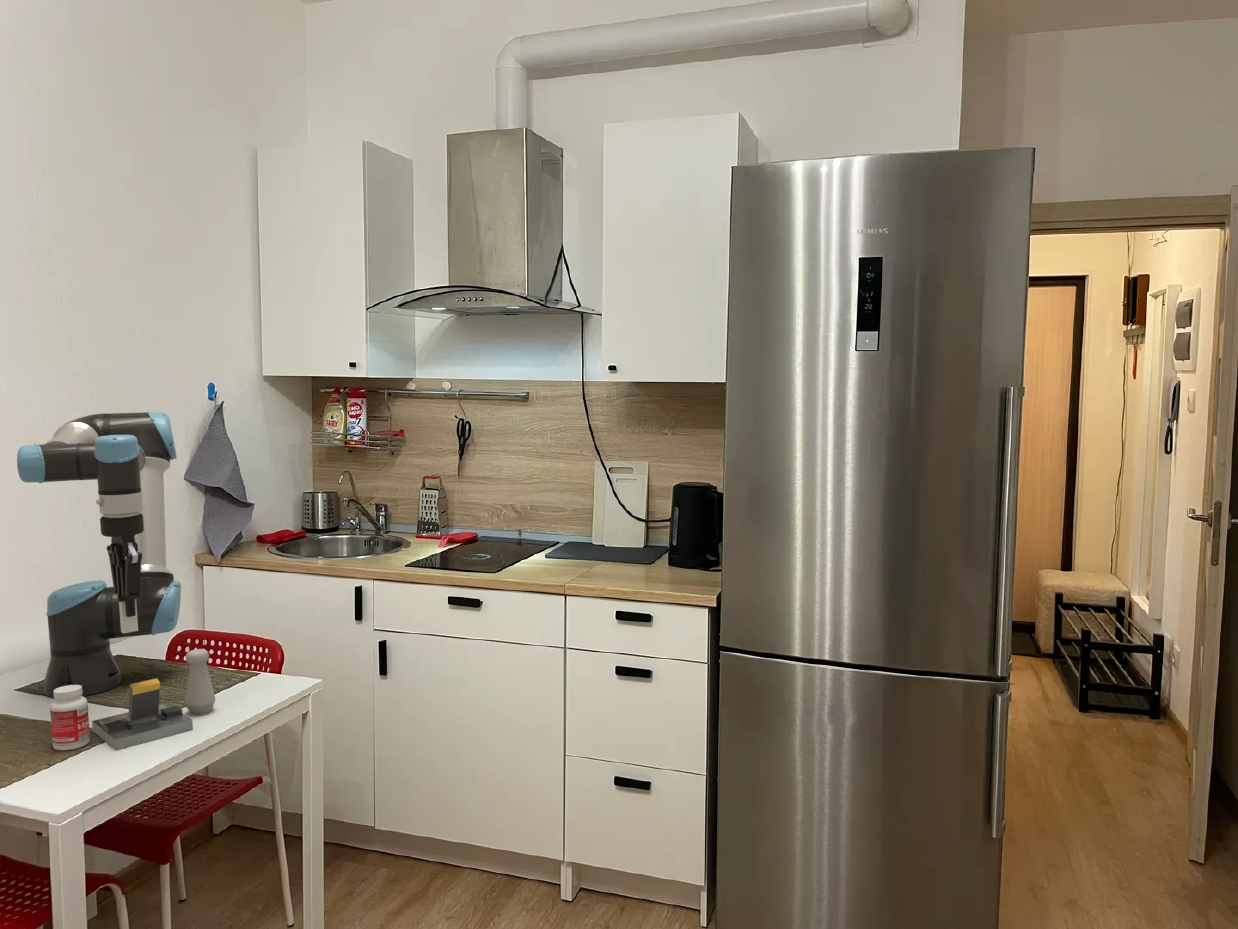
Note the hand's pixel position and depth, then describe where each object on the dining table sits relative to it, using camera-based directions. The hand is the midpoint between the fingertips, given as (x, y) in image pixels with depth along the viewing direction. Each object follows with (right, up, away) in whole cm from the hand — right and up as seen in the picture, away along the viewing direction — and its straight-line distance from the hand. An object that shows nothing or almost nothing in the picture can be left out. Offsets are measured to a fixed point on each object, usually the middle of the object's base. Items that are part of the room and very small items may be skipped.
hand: (129, 631), depth 188 cm
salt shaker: (+10, -18, +8) cm, 23 cm away
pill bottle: (-7, -20, -9) cm, 23 cm away
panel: (+3, -19, -1) cm, 20 cm away
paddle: (+4, -16, -2) cm, 17 cm away
